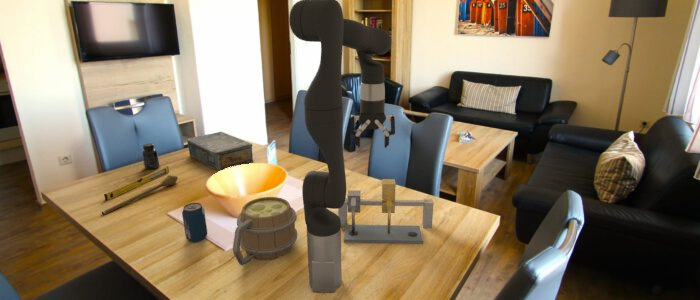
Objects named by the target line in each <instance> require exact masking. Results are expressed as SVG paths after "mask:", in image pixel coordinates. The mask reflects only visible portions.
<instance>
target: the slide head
mask: <svg viewBox="0 0 700 300" xmlns="http://www.w3.org/2000/svg"><path fill="white" fill-rule="evenodd" d="M381 180H382V181H381V200H382V206H381V213H382V214H387V224H386V225H387V233H388V234H390V225H392V224H391V223H392V222H391V217H392V214H395V212H396V206H395V200H396V189H397V188H396V185H397V184H396V179H394V178H393V179H392V178H382V179H381Z"/></svg>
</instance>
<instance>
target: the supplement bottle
mask: <svg viewBox="0 0 700 300" xmlns="http://www.w3.org/2000/svg"><path fill="white" fill-rule="evenodd" d="M142 149H143V150H142V151H141V157H142V161H143V167H144V169H145V170H147V171H148V170H149V171H152V170H156V169H159V167H160V159H159V154H158V149H156V148H155V144H154V143H151V142H150V143H149V142H148V143H144V144H143V145H142Z"/></svg>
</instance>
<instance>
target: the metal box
mask: <svg viewBox="0 0 700 300" xmlns="http://www.w3.org/2000/svg"><path fill="white" fill-rule="evenodd" d="M186 143H187V147H188V151H189V153H188V154H189V156H190V157H191V158H193V159H195V160H197V161H199V162H201V163H203V164H204V165H206V166H209V167H210V168H212V169H214V170H216V171H219V170H220V171H223V170H225V169H224V168H227V167H230V166H233V167H235V166H234V165H236V166H239V164H240V165H244V164H247V163H252V162H254V160H253V155H254V154H253V143H251V142H249V141H245V140H243V139H241V138H238V137H236V136H234V135H231V134H228V133H226V132H223V131H218V132H213V133H206V134H203V135H198V136H193V137H190V138H187V139H186ZM230 168H231V167H230ZM222 169H223V170H222ZM227 169H228V168H227Z"/></svg>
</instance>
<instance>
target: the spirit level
mask: <svg viewBox="0 0 700 300" xmlns="http://www.w3.org/2000/svg"><path fill="white" fill-rule="evenodd" d="M169 170H170V169H169V166H165V167H162V168H160V169H158V170H155V171H153V172H151V173H149V174H147V175H146V174H145V176H142V177H140V178H139V179H137V180H133V181H131V182H129V183H126V184H125V185H122V186H120V187H118V188H115V189H113V190H110V191H108V192H106V193H103V194H104V199H105V201H109V200H112V199H113V198H116V197H118V196H119V195H122V194H124V193H127V192H129V191H130V190H133V189H135V188H137V187H139V186H141V185H143V184H145V183H147V182H150V181H153V180H155V179H157V178H159V177H161V176H164V175H166V174H167V173H169V172H170V171H169Z"/></svg>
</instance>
